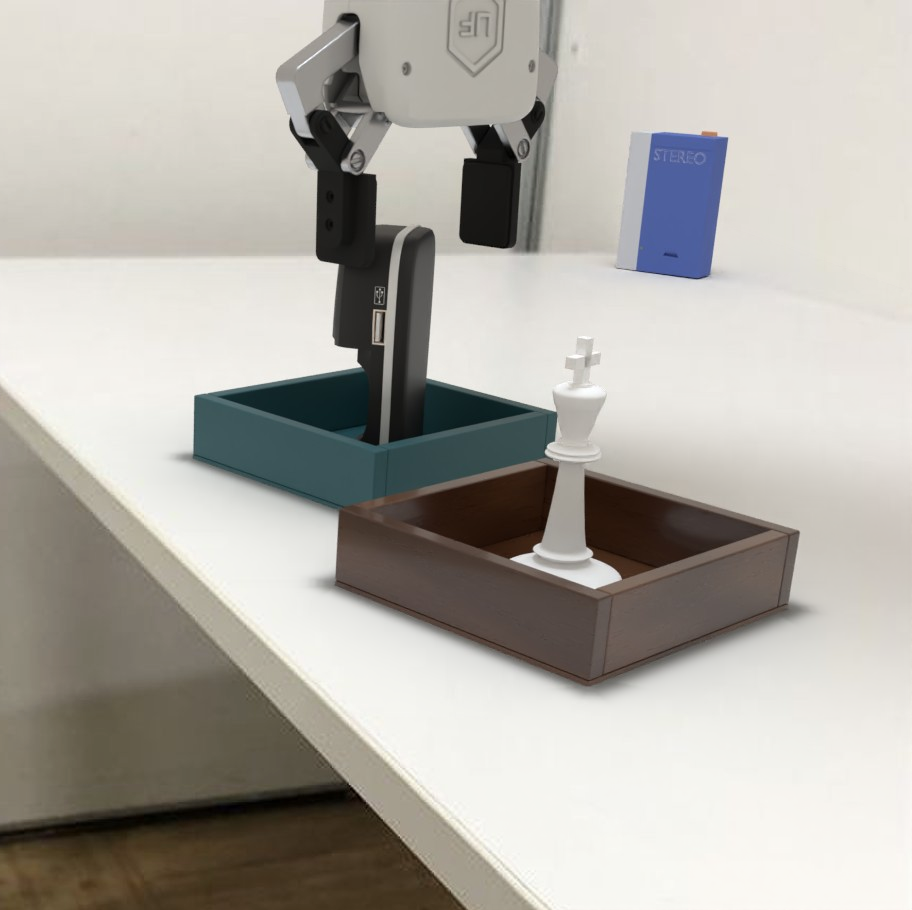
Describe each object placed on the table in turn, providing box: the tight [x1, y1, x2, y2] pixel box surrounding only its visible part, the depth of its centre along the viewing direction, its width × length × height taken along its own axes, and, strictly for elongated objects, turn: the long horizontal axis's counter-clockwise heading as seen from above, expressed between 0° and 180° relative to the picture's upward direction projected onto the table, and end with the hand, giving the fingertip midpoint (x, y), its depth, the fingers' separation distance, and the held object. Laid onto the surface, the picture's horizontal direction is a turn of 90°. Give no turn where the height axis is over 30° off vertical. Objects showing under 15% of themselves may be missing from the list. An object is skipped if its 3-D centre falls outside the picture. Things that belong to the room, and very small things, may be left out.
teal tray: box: [192, 366, 558, 511], centre depth 79 cm, size 13×13×4 cm
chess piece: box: [510, 335, 622, 589], centre depth 62 cm, size 5×5×10 cm
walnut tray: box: [334, 458, 801, 687], centre depth 63 cm, size 13×13×4 cm
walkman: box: [615, 129, 729, 279], centre depth 141 cm, size 8×3×12 cm, turn 53°
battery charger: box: [331, 223, 436, 446], centre depth 78 cm, size 7×4×11 cm, turn 166°
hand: (418, 254), depth 76 cm, fingers open, 9 cm apart
